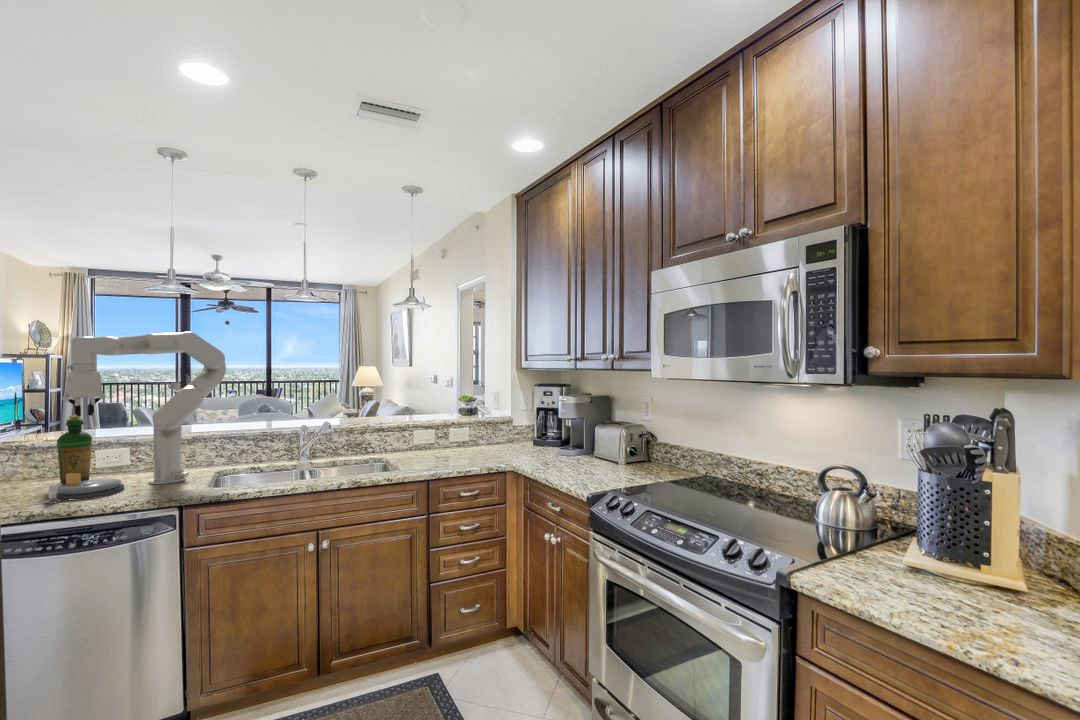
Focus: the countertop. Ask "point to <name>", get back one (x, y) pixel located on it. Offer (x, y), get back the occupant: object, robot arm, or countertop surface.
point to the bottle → (74, 450)
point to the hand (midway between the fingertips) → (84, 415)
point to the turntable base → (92, 494)
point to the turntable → (86, 485)
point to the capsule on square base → (53, 494)
